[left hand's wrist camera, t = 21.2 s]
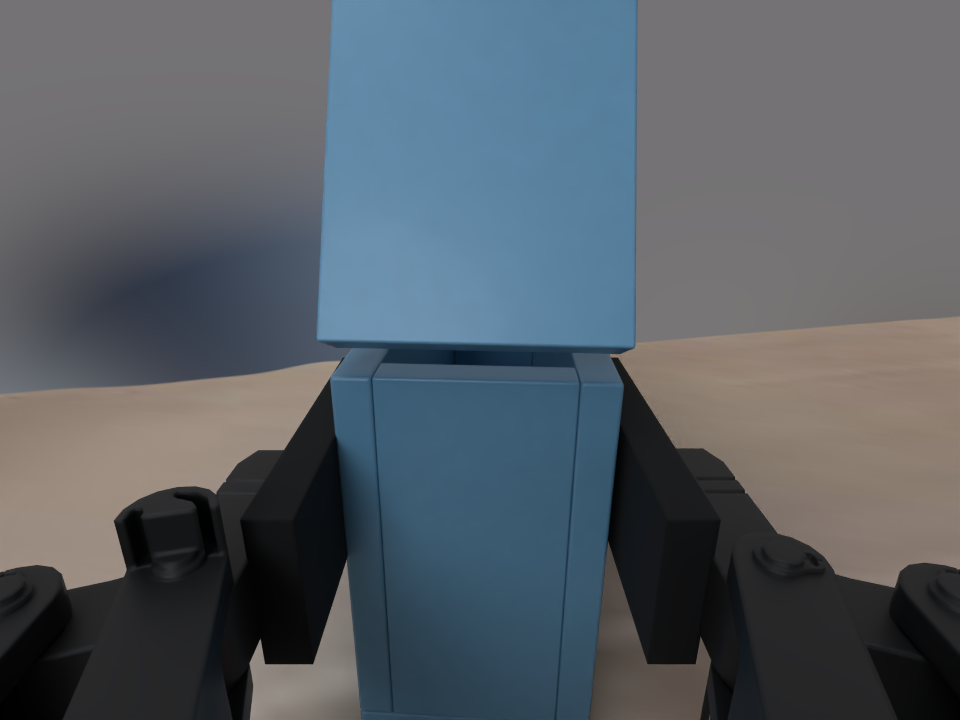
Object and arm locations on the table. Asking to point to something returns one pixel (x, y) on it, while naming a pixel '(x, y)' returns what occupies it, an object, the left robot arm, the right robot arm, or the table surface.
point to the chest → (476, 528)
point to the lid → (480, 176)
